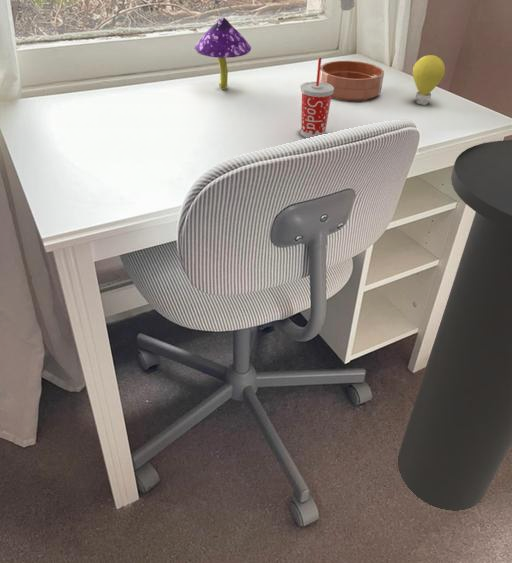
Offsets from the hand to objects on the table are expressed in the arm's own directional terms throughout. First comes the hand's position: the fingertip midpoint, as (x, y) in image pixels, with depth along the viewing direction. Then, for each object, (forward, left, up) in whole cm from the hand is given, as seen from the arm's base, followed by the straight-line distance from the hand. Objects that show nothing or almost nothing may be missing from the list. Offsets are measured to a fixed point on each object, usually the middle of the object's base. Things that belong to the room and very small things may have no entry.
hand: (358, 0), depth 88 cm
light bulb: (+1, -29, -24) cm, 37 cm away
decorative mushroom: (+36, -1, -24) cm, 43 cm away
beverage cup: (+5, +3, -24) cm, 24 cm away
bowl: (+16, -22, -24) cm, 36 cm away
